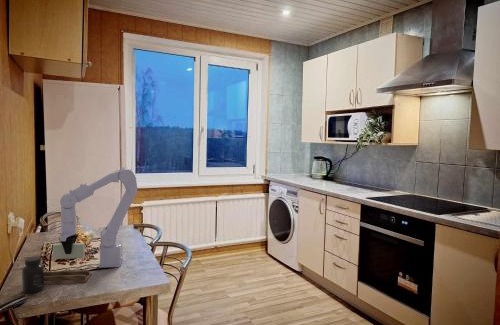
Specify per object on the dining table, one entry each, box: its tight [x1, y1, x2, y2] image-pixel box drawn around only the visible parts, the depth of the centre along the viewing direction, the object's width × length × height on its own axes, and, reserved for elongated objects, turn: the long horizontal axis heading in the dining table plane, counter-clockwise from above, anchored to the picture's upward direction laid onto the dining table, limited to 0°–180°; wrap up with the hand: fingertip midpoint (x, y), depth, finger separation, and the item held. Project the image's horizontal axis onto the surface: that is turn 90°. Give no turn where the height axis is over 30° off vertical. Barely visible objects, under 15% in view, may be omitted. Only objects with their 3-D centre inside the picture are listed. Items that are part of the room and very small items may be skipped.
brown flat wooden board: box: [44, 269, 93, 285], centre depth 137 cm, size 18×8×2 cm, turn 99°
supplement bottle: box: [21, 256, 45, 295], centre depth 127 cm, size 7×7×12 cm
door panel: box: [52, 242, 86, 260], centre depth 147 cm, size 12×2×6 cm, turn 99°
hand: (69, 252), depth 147 cm, fingers closed on door panel, 2 cm apart
